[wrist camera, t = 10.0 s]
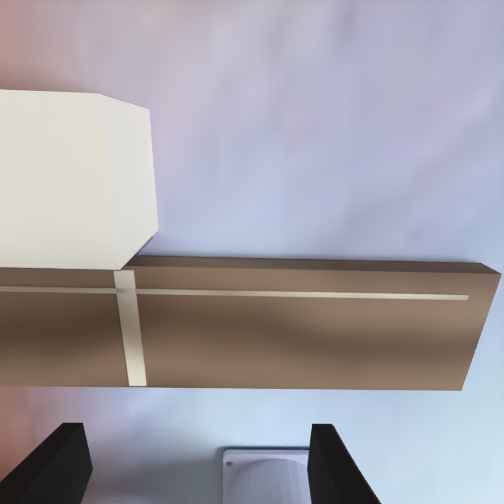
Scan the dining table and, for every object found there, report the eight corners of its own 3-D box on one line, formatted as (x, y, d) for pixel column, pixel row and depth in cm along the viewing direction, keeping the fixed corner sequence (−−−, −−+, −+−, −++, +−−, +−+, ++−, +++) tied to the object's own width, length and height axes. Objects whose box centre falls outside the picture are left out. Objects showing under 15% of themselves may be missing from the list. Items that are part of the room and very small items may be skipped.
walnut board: (446, 373, 20) (462, 391, 19) (-11, 367, 20) (-32, 386, 18) (481, 263, 18) (503, 274, 16) (-49, 251, 17) (-78, 262, 15)
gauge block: (159, 234, 17) (120, 276, 12) (67, 232, 17) (-13, 274, 11) (149, 109, 15) (96, 93, 9) (43, 105, 14) (-69, 86, 9)
